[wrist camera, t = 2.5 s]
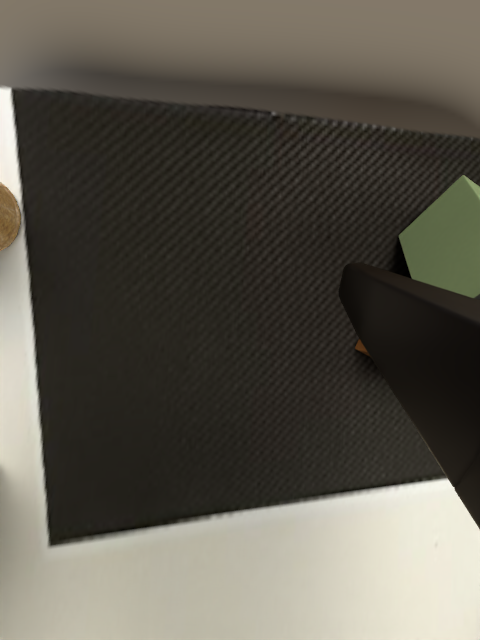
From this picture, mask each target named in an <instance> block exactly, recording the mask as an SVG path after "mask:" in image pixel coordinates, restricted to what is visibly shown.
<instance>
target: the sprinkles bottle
mask: <svg viewBox="0 0 480 640" xmlns="http://www.w3.org/2000/svg"><path fill="white" fill-rule="evenodd" d="M20 220H21V214H20V210H19V206H18V205H17V201H16V200H15V198H14V196H13V194H12V193H11V192H10V191H9V189H8V188H7V187H6V186H4V185H3V184H2V183H0V250H2V249H4V248H6V247H8V246H9V245H10V244H11V243H12V242H13V241H14V239H15V238H16V236H17V234H18V230H19V227H20V224H21V221H20Z"/></svg>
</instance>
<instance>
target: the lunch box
mask: <svg viewBox="0 0 480 640" xmlns="http://www.w3.org/2000/svg"><path fill="white" fill-rule="evenodd" d="M399 239H400V243H401V246H402V249H403V252H404V256H405V259H406V262H407V265H408V268H409V272H410V275H411V278H412V279H414V280H418V281H421V282H424V283H427V284H430V285H433V286H436V287H440V288H443V289H446V290H449V291H452V292H455V293H458V294H462V295H465V296H468V297H471V298H474V299H477V300H480V187H479V186H478V185H476V184H475V183H474V182H472V181H471V180H470V179H468V178H467V177H466V176H464V175H462V176H461V177H460V178H459V179H458V180H457V181H456V182H455V183H454V184H453V185H452V186H451V187H450V188H449V189H448V190H446V191H445V192H444V193H443V194H442V195H441V196H440V197H439V198H438V199H437V200H436V201H435V202H434V203H433V204H432V205H431V206H429V207H428V208H427V209H426V210H425V211H424V212H423V213H422V214H421V215H420V216H419V217H418V218H417V219H416V220H415V221H414V222H412V223H411V224H410V225H409V226H408V227H407V228H406V229H405V230H404V231H403V232H402V233H401V234H400V235H399Z"/></svg>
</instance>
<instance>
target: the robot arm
mask: <svg viewBox="0 0 480 640" xmlns="http://www.w3.org/2000/svg"><path fill="white" fill-rule="evenodd" d="M339 297H340V300H341V302H342V304H343V306H344V308H345V310H346V312H347V314H348V316H349V318H350V321H351V323H352V325H353V327H354V329H355V331H356V333H357V335H358V337H359V339H360V340H361V342H362V344H363V346H364V347H365V349H366V350H367V352H368V354H369V355H370V357H371V358H372V360H373V361H374V363H375V365H376V366H377V368H378V369H379V371H380V372H381V374H382V376H383V377H384V379H385V380H386V382H387V383H388V385H389V387H390V388H391V390H392V391H393V393H394V394H395V396H396V398H397V399H398V401H399V402H400V404H401V406H402V407H403V409H404V410H405V412H406V413H407V415H408V417H409V418H410V420H411V421H412V423H413V424H414V426H415V428H416V429H417V431H418V432H419V434H420V435H421V437H422V439H423V440H424V442H425V443H426V445H427V446H428V448H429V450H430V451H431V453H432V454H433V456H434V457H435V459H436V461H437V462H438V464H439V465H440V467H441V469H442V470H443V472H444V473H445V475H446V476H447V478H448V480H449V481H450V483H451V484H452V486H453V487H455V488H454V489H455V491H456V493H457V494H458V496H459V497H460V499H461V500H462V502H463V504H464V505H465V507H466V508H467V510H468V511H469V513H470V515H471V516H472V518H473V519H474V521H475V522H476V524H477V526H478V527H479V529H480V300H477V299H474V298H471V297H468V296H465V295H462V294H458V293H455V292H452V291H449V290H446V289H443V288H440V287H436V286H433V285H430V284H427V283H424V282H421V281H418V280H414V279H411V278H408V277H405V276H402V275H399V274H396V273H392V272H389V271H386V270H383V269H380V268H377V267H373V266H370V265H367V264H364V263H351V264H347V265H346V266H345V268H344V270H343V274H342V279H341V283H340V288H339Z"/></svg>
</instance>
